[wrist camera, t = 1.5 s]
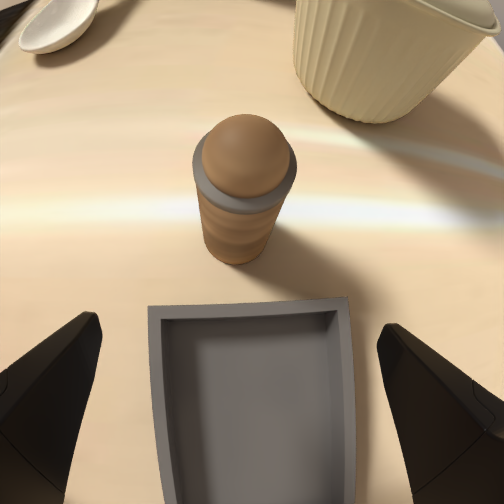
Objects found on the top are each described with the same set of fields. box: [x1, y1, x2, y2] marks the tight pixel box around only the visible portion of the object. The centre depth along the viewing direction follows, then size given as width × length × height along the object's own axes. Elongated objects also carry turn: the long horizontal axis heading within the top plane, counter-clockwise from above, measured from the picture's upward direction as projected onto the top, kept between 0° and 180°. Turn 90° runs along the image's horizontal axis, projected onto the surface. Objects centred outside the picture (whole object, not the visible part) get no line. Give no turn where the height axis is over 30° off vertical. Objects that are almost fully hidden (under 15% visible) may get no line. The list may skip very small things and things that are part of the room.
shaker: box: [192, 114, 297, 265], centre depth 18 cm, size 5×5×12 cm
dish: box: [148, 297, 356, 504], centre depth 19 cm, size 18×13×4 cm
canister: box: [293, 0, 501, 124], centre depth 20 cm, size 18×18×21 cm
